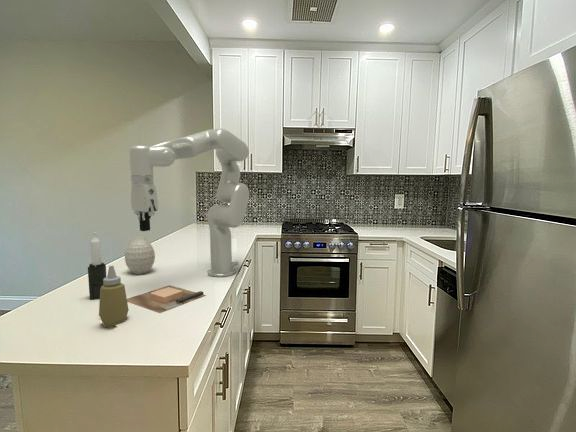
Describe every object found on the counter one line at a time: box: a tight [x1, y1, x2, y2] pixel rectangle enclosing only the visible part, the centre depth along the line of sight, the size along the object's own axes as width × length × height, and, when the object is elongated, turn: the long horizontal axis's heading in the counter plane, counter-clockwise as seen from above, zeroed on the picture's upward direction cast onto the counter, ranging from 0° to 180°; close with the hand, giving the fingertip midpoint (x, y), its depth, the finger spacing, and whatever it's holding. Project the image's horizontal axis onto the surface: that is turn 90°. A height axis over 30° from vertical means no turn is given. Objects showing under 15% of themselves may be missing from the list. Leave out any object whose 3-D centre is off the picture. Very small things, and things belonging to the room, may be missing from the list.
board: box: [127, 284, 207, 314], centre depth 125 cm, size 20×21×1 cm
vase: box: [124, 235, 156, 275], centre depth 161 cm, size 13×13×17 cm
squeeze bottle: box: [98, 265, 130, 328], centre depth 105 cm, size 8×8×18 cm
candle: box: [87, 231, 107, 301], centre depth 124 cm, size 5×5×25 cm
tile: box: [150, 287, 183, 304], centre depth 125 cm, size 8×2×8 cm
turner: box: [159, 290, 204, 311], centre depth 122 cm, size 17×4×1 cm, turn 146°
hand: (145, 230), depth 128 cm, fingers closed
